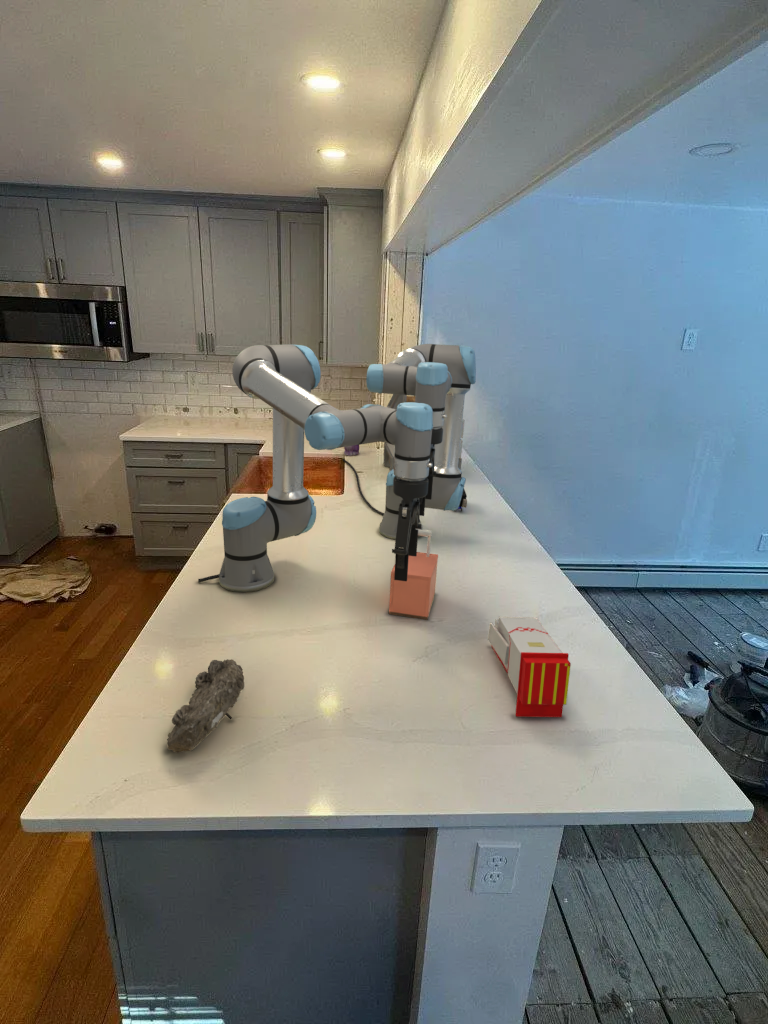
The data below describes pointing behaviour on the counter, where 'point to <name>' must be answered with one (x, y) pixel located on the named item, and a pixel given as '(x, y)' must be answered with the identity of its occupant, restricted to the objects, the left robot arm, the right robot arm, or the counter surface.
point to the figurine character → (463, 501)
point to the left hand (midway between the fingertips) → (405, 567)
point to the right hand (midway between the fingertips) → (422, 506)
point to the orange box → (421, 561)
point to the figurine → (351, 450)
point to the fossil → (206, 705)
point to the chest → (412, 596)
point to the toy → (531, 665)
